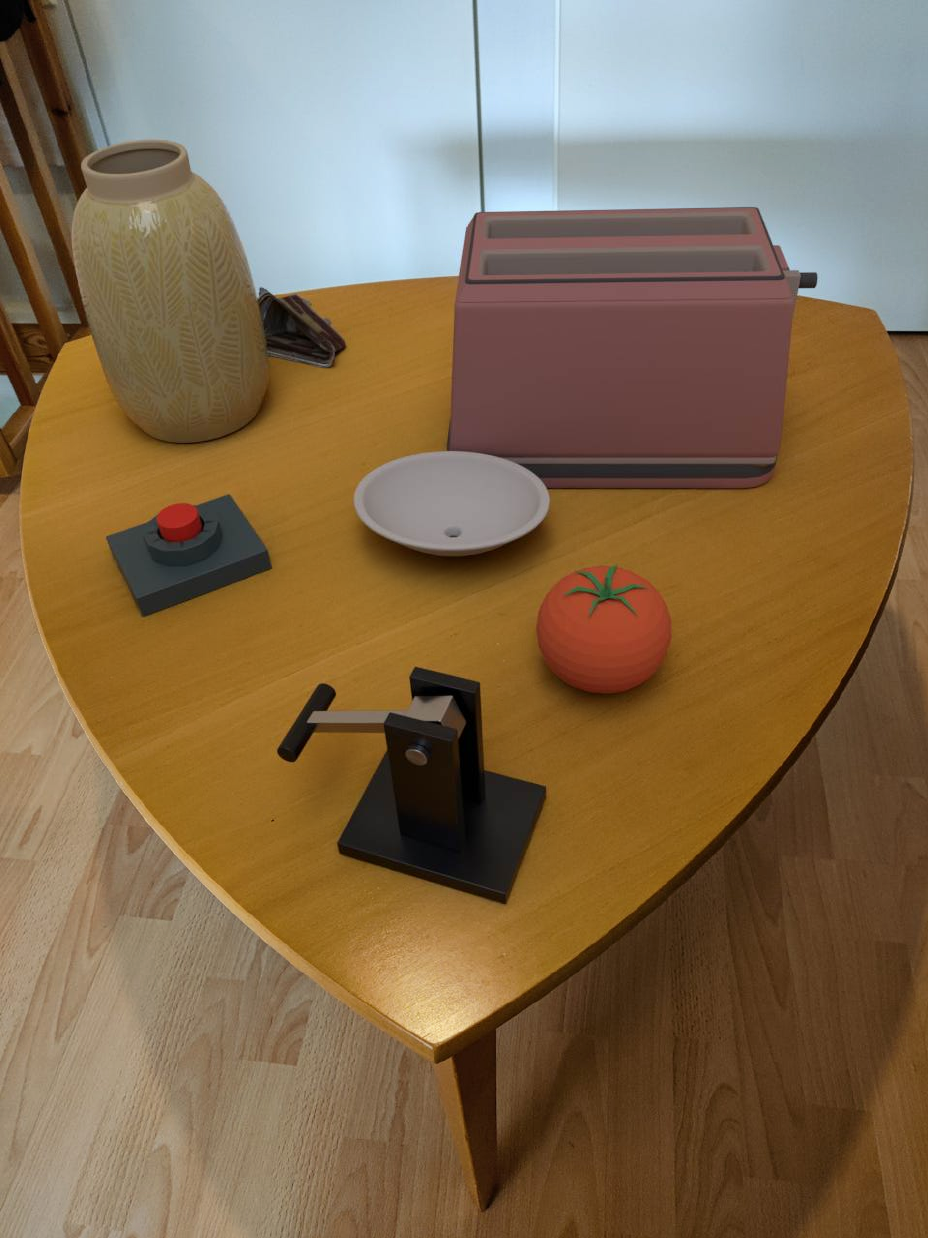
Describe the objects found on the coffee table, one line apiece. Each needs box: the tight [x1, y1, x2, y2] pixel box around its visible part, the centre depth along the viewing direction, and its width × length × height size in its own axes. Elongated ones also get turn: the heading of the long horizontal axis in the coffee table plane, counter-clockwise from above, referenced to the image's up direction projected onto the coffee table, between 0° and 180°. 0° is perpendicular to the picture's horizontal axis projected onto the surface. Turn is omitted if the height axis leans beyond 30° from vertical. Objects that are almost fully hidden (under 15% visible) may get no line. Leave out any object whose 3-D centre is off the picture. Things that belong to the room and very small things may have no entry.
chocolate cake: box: [257, 286, 347, 368], centre depth 119 cm, size 10×7×12 cm
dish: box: [353, 450, 551, 557], centre depth 90 cm, size 18×14×5 cm
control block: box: [105, 493, 273, 617], centre depth 90 cm, size 12×10×4 cm
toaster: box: [446, 206, 818, 489], centre depth 96 cm, size 19×34×20 cm, turn 86°
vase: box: [70, 139, 270, 444], centre depth 101 cm, size 17×17×27 cm
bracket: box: [336, 666, 547, 905], centre depth 65 cm, size 12×9×13 cm
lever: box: [276, 682, 466, 763], centre depth 64 cm, size 12×6×2 cm, turn 70°
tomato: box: [535, 564, 672, 694], centre depth 76 cm, size 10×10×10 cm
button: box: [156, 502, 202, 542], centre depth 88 cm, size 4×4×2 cm
